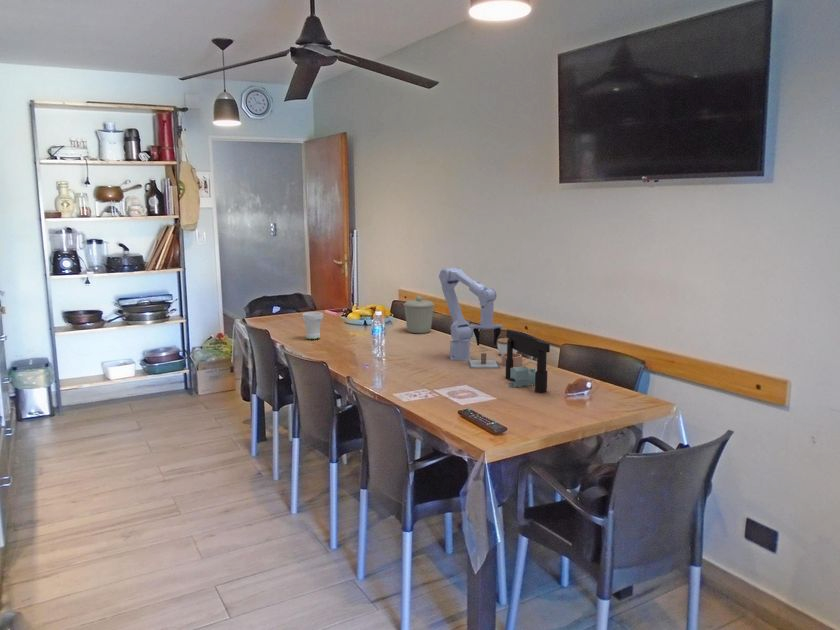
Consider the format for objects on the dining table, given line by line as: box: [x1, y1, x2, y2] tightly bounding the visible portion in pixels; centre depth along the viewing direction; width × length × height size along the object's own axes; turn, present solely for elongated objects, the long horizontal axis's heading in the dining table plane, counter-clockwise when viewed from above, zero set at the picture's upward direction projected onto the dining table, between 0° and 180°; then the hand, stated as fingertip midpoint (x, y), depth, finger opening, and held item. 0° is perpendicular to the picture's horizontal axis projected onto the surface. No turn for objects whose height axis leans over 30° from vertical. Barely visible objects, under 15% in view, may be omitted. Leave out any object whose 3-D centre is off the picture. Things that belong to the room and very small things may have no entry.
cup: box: [301, 311, 324, 340], centre depth 359 cm, size 11×11×14 cm
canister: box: [403, 295, 436, 334], centre depth 379 cm, size 18×18×21 cm
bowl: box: [500, 353, 523, 368], centre depth 303 cm, size 9×9×4 cm
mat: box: [466, 360, 501, 370], centre depth 302 cm, size 14×14×1 cm
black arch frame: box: [505, 328, 551, 393], centre depth 269 cm, size 16×21×33 cm
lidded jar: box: [496, 337, 519, 355], centre depth 321 cm, size 11×11×9 cm
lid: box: [468, 352, 499, 369], centre depth 302 cm, size 12×12×5 cm
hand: (486, 344), depth 301 cm, fingers open, 7 cm apart
